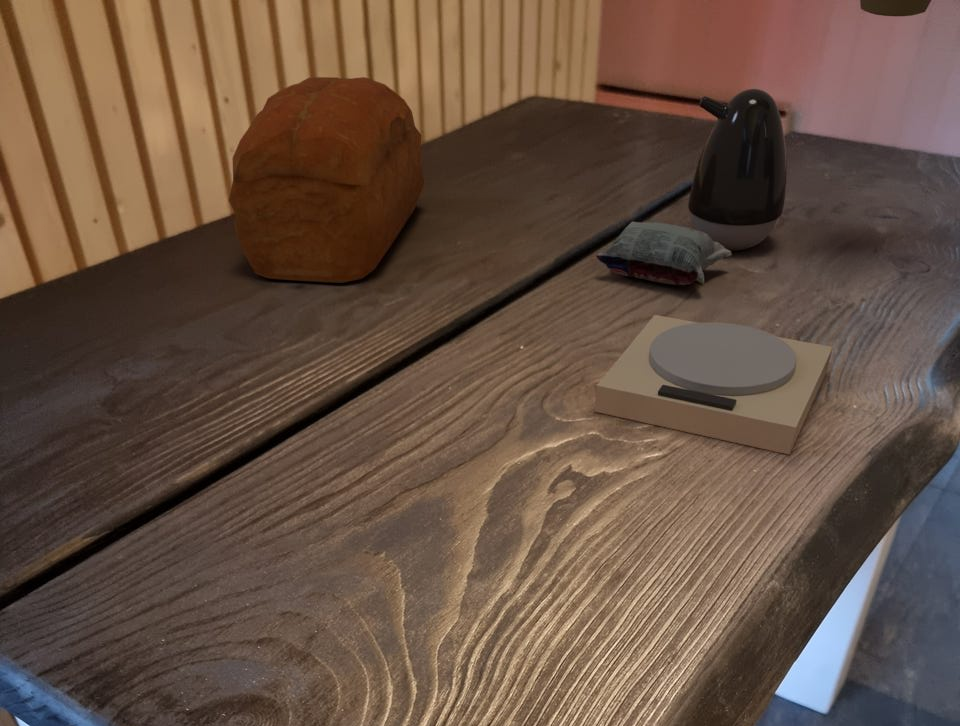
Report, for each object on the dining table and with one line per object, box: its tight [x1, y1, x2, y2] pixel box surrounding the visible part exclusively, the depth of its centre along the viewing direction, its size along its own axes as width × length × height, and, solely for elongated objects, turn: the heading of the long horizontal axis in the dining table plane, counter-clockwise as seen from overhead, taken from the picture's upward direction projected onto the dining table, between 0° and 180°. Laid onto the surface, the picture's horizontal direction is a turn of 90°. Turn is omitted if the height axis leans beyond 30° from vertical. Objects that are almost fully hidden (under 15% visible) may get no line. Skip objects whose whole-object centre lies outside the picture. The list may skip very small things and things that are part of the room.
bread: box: [228, 76, 425, 284], centre depth 101 cm, size 16×27×16 cm, turn 170°
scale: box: [594, 314, 834, 456], centre depth 77 cm, size 16×15×3 cm
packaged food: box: [595, 221, 733, 286], centre depth 96 cm, size 9×12×5 cm
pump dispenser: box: [687, 88, 788, 252], centre depth 99 cm, size 10×10×15 cm
